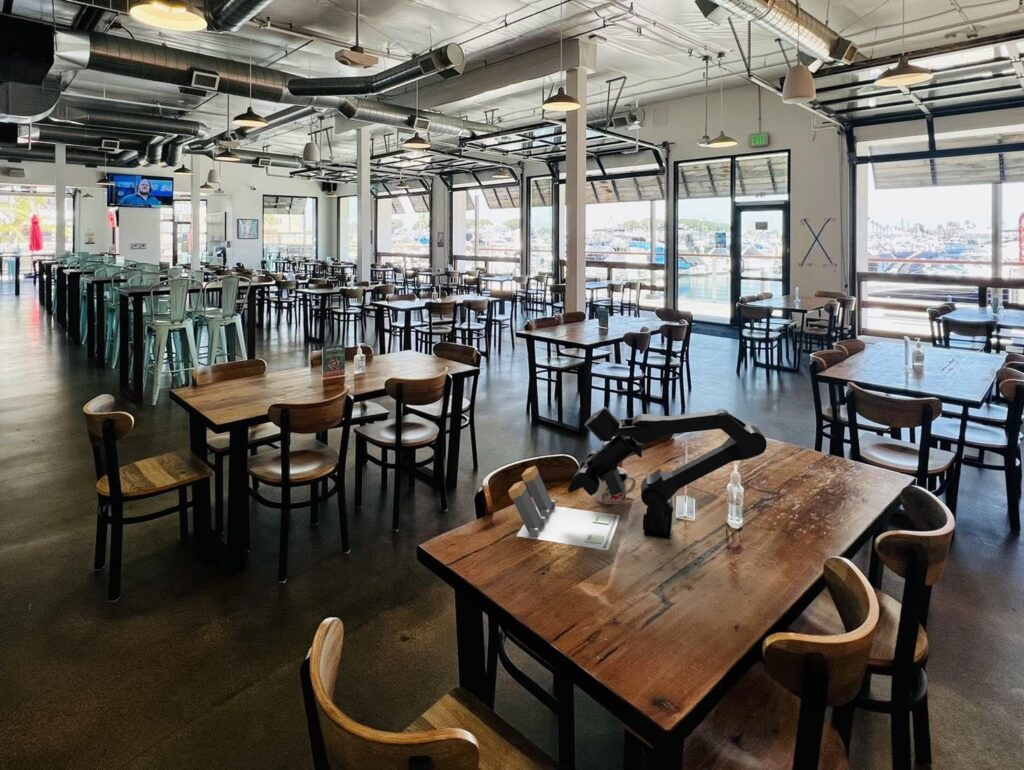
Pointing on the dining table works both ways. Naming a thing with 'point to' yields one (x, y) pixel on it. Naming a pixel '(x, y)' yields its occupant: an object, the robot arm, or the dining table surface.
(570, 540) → the switch unit
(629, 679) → the dining table surface
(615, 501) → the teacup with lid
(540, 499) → the rocker
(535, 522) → the block
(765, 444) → the robot arm
